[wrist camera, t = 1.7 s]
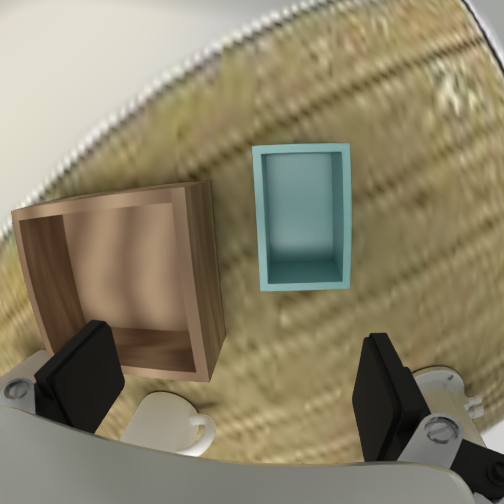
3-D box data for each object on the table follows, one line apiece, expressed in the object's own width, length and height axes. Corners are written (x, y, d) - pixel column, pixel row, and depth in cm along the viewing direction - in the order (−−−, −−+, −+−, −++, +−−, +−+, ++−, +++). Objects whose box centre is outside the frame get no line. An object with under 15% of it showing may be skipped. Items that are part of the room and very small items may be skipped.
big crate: (211, 180, 28) (184, 187, 21) (225, 335, 33) (209, 382, 25) (59, 198, 31) (11, 210, 23) (85, 327, 35) (50, 360, 27)
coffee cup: (69, 350, 36) (5, 416, 22) (81, 400, 39) (32, 465, 25) (23, 333, 37) (-40, 384, 23) (37, 381, 40) (-14, 434, 25)
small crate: (336, 147, 27) (349, 143, 21) (338, 264, 30) (349, 288, 24) (258, 149, 28) (252, 146, 22) (265, 266, 30) (260, 291, 25)
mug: (207, 378, 35) (184, 442, 25) (237, 424, 37) (224, 486, 27) (131, 393, 37) (98, 446, 27) (162, 434, 39) (139, 487, 29)
